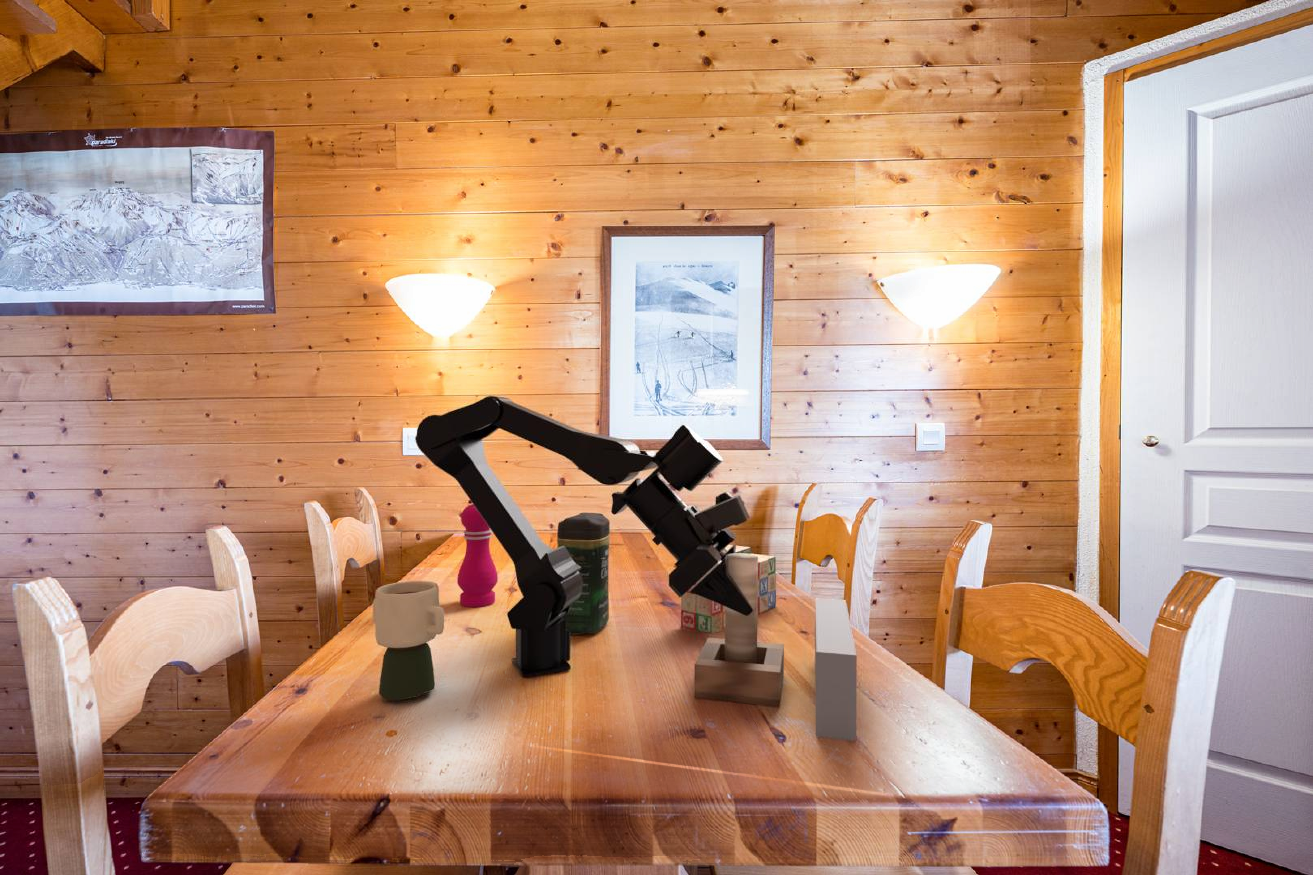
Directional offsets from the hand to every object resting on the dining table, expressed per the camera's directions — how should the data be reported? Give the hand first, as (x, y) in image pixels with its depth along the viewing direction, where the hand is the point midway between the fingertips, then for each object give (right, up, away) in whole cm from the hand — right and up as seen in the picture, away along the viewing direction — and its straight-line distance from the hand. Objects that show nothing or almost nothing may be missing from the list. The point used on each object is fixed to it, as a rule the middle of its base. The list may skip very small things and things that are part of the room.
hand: (752, 608), depth 78 cm
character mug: (-42, -10, -2) cm, 43 cm away
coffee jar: (-24, -10, +24) cm, 36 cm away
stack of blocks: (+1, -10, +31) cm, 33 cm away
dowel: (-1, -7, 0) cm, 7 cm away
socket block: (-1, -10, 0) cm, 10 cm away
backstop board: (+9, -10, -2) cm, 14 cm away
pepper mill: (-45, -10, +38) cm, 60 cm away
